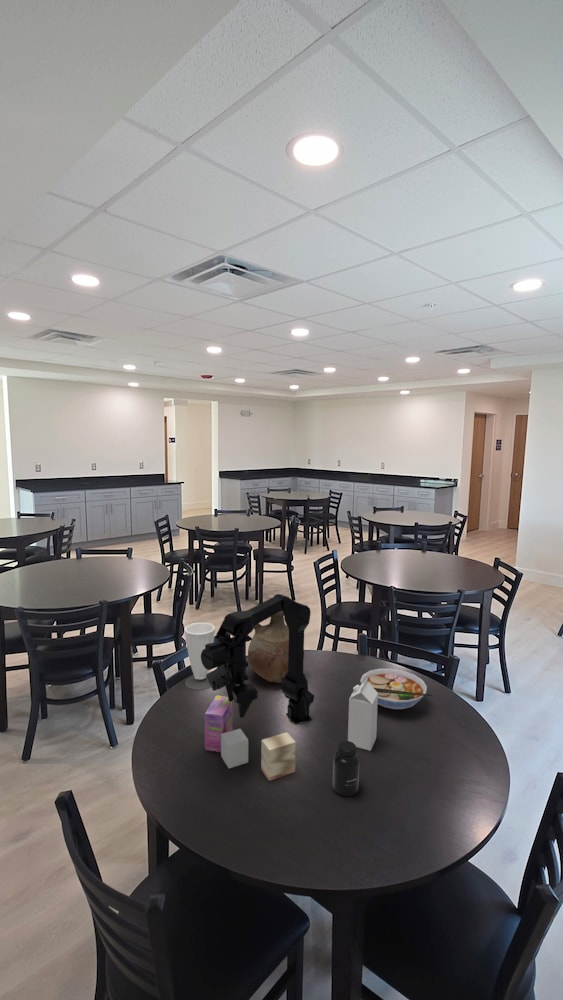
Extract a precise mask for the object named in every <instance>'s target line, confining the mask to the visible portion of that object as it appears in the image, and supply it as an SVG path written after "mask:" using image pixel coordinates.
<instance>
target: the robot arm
mask: <svg viewBox="0 0 563 1000" xmlns="http://www.w3.org/2000/svg"><path fill="white" fill-rule="evenodd" d="M280 611H283V612H284V616H283V617H284V622H285V625H287V627H288V629H289V651H288V672H287V674H286V675H285V677H282V679H281V684H280V685H281V686H280V690H281V692H282V693H283V694H284V696H285V698H287V699H288V704H287V708H286V709H287V711H286V713H285V715H286V717H287V718H289V720H290V721H291V722H292V723H293V724H294V725H298V724H301V723H305V722H308V721H312V716H311V715H310V706H311V704H313V702H314V700H315V695H314V694H313V693H311V692H310V690H309V684H308V683H309V682H308V679H307V677H306V675H305V673H304V659H305V650H304V649H305V630H306V629H307V627H308V626H309V624H310V620H311V608H310V607H309V605H306V604H304V603H300V602H297V601H294V600H293V599H291V598H290V597H289V596H286V595H284V594H281V593H277V594H275V595H274V596H273V597H271V598H269V599H267V600H265V601H263V602H261V603H259V604H258V605H255V606H253V607H251V608H250V609H247V610H237V611H234V612H230V613H228V614H226V615H225V616H224V617H223V618H224V619H223V621H222V623H221V625H220V626H219V628H218V630H217V632H216V633H215V634H216V635H214V640H217V641H214V642H213V643H209V644H206V645H205V649H203V651H202V653H201V661H202V664H203V666H204V667H205V668H206V669H207V670H208V671H209V672H208V673H207V675H206V678H207V680H208V683H209V685H210V686H211V687H210V688H211V689H212V691H215V692H216V691H217V690H220V689H223V688H225V692H226V697H228V699H229V702H231V701H233V702H234V703H236V704H237V709H238V714H239V718H240V719H241V718H245V715H246V713H247V712H248V709H249V708H250V706H251V704H252V702H253V701H255V700H257V699H258V698H259V696H258V695H259V692H258V690H257V688H256V687H255V686H254V685H253V684H252V683H245V681H249V675H248V674H247V667H249V661H247V642H251V640H252V638H253V637H251V636H250V635H249V634H251V633H253V631H254V627H255V625H257V624H258V623H259V624H260V623H262V622H263V621H266V620H267V619H269V618H271V616H273V615H275V614H277V613H279V612H280ZM226 634H228V635H229V636H228V635H226ZM231 636H232V637H231Z"/></svg>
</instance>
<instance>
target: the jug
mask: <svg viewBox="0 0 563 1000" xmlns="http://www.w3.org/2000/svg"><path fill="white" fill-rule="evenodd" d="M253 631H254V634H253V636H252V637H251V638H252V640H250V641H249V645H248V648H247V659H248V663H249V664H250V666H251V668H252V669H253V671H254V672H255V673H256V674H257V675H258V676H260V677H261V678H262V679H264V680H266V681H267V682H269V683H276V684H280V683H281V679H282V677H285V675H286V674H287V672H288V651H289V629H288V627H287V624H286V622H285V619H284V612H283V611H280V612H279V613H277V614H275V615H273V616H271V617H270V621H269V623H267V624H265V625H261V624H260V623H258V624H257V625H255V627H254V629H253ZM281 684H282V683H281Z"/></svg>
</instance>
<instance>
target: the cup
mask: <svg viewBox="0 0 563 1000" xmlns="http://www.w3.org/2000/svg"><path fill="white" fill-rule="evenodd" d="M215 634H216V627H215V625H214V624H212V623H209V622H203V621H202V622H193V623H189V624H188V625H186V626H185V627H184V636H185V643H186V648H187V653H188V659H189V662H190V668H191V671H192V673H193V675H191V676H190V677H189V678H187V679H186V680H185V682H184V685H185V686H186V687H187V688H188V689H190V690H194V691H195V690H196V691H201V690H202V691H203V690H207V689H209V688H211V686H210V685H209V683H208V680H207V678H206V675H207V674H208V673H209V670H207V669H206V668H205V667H204V666H203V664H202V661H201V653H202V651H203V649H205V645H206V644H209V643H213V642H215V636H216V635H215Z"/></svg>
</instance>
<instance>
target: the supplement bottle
mask: <svg viewBox="0 0 563 1000" xmlns="http://www.w3.org/2000/svg"><path fill="white" fill-rule="evenodd" d="M332 762H333V764H332V765H333V766H332V789H333V790H334V791H335V793H337V794H338V795H340V796H342V797H351V796H354V795H355V794H356V793H357V792H358V791H359V780H360V779H359V778H360V777H359V776H360V758H359V756H358V754H357V747H356V745H355V744H354V743H352V742H350V741H348V740H342V741H340V742H338V744H337V751H336V752H335V753H334V755H333V761H332Z"/></svg>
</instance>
